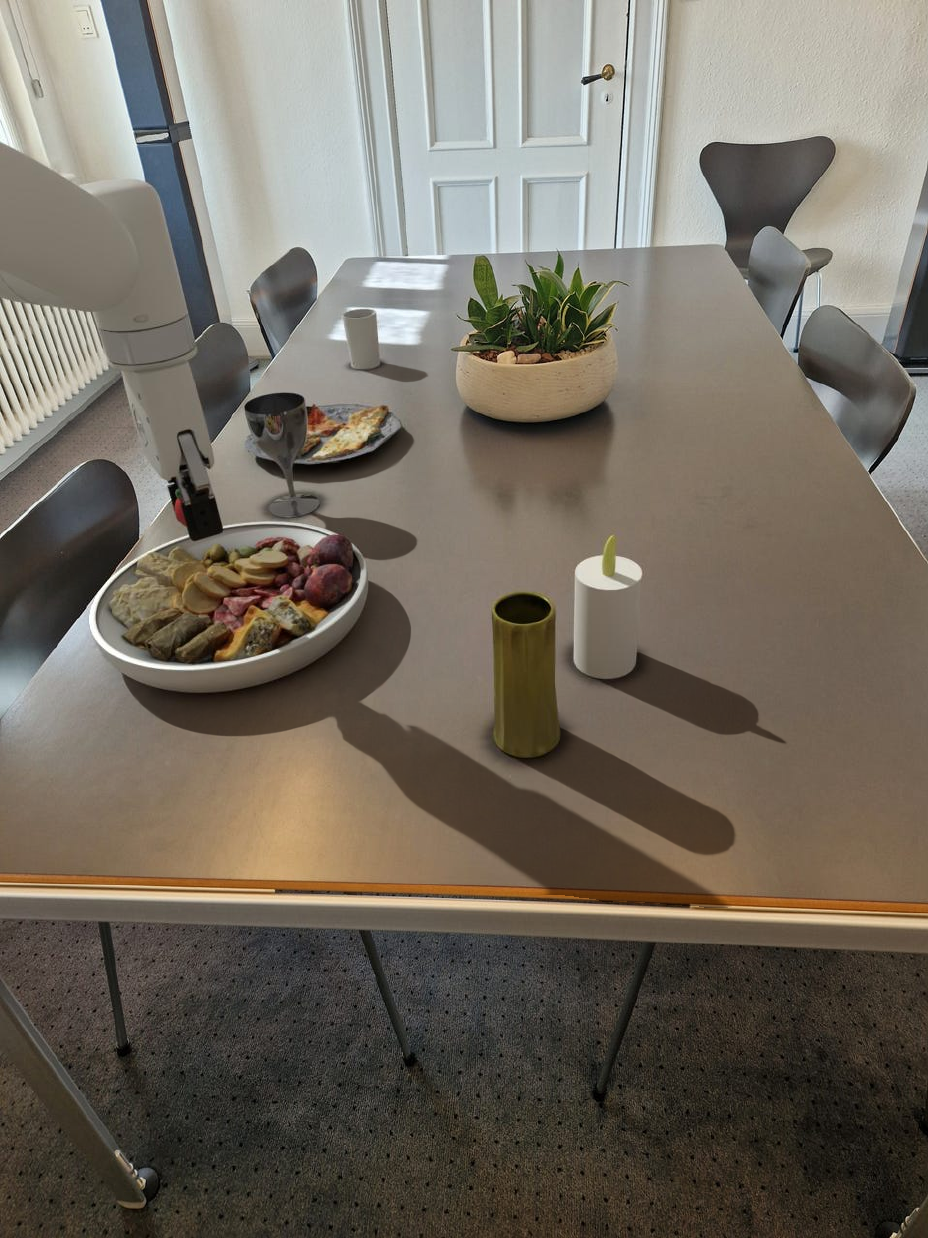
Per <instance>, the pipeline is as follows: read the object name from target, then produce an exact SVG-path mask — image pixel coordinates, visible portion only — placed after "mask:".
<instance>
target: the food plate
mask: <svg viewBox="0 0 928 1238" xmlns="http://www.w3.org/2000/svg"><path fill="white" fill-rule="evenodd" d="M306 409H307V417H308V433H307V440H306V443H305V445H304V447H303V448H302V450H301V451H300V453H299V454H298V456H297V457H296V459H295V461H294V464H304V465H317V464H327V465H328V464H330V463H331V464H336V463H340V462H341V461H343V460H347V459H351V458H354V457H358V456H361V455H365V454H367V453H371V452H374V451H375V450H376V449H378V448H379V447H380V446H382V444H384V443H386V442H387V441H388V440H389V439H390V438H391V437H392V436H393V435H394V434H395V433H397V432H398V431H399V430H400V429H401V428H402V425H403V424H402V422H401V420H400V419H399V418H398V417H397V416H396V415H395V414H394V413H393V412H391V411H389V407H388V406H387V405H383V404H381V405H380V406H379V405H378V406H369V405H364V404H363V405H362V404H358V403H352V404H351V403H350V404H349V403H336V404H329V405H319V406H317V405H316V404H315V403H313V404H312V406H309V405H306ZM243 442H244V443H243V447H244V449H245V450H246V451H247V452H248V453H251V454H253V455H254V456H256V457H258V458H261V459H263V460H264V459H266V460H269V461H271V462H273V461H274V460H273V459H271V458H270V457H269V456H267V455H266V454H264V453H263V452H262V451H261V450H260V449H259V448H258V446H257V445H256V443H255V441H254V439H253V437H252V434H251V433H250V434H249V435H247V436H246V438H245V440H244V441H243Z"/></svg>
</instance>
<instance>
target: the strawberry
mask: <svg viewBox="0 0 928 1238" xmlns="http://www.w3.org/2000/svg"><path fill="white" fill-rule="evenodd" d="M186 487H187V485H186ZM175 494H176V497H177V500H176V503H175V511H174V514H176V515H175V517H177V518H178V520H179V521H180V522H179V521H178V520H177V521H178V522H179V523H180V524H181V525H182V526H184V527H185V528H187V527H186V523H185V519H184V516H183V512H182V509H181V505H180V503H182V502H183V500H182V497H181V494H180V491H179V488H178V489H177V490H176V492H175ZM177 518H176V519H177Z"/></svg>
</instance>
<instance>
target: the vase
mask: <svg viewBox="0 0 928 1238" xmlns="http://www.w3.org/2000/svg"><path fill="white" fill-rule="evenodd" d="M556 612H557V611H556V606H555V604H554V602H553V601H552V599H550V598H549V597H548V596H546V595H544V594H542V593H539V592H536V591H531V590H517V591H512V592H508V593H506V594H504V595H502V596H500V597H498V598H497V599H496V600H495V601H494V602H493V604H492V607H491V626H492V627H491V629H492V648H493V649H492V650H493V655H492V656H493V711H494V712H493V715H494V717H493V718H494V728H493V740H494V743H495V744H496V746H497V747H498V748H499V750H501V751H502V752H504V753H505V754H507V755H510V756H513V757H516V758H523V759H531V758H532V759H533V758H538V757H541V756H544V755H547V754H548V753H549V752H551V751H553V749H555V748H556V746H557V745H558V744H559V742H560V739H561V729H560V721H559V710H558V697H557V689H556V619H557V615H556V614H557V613H556Z"/></svg>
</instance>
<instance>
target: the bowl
mask: <svg viewBox="0 0 928 1238" xmlns="http://www.w3.org/2000/svg"><path fill="white" fill-rule="evenodd" d="M222 526H223V532H222V533H220V534H217V535H214V536H211V537H208V538H204V539H201V540H198V541H192V540H191V539H190V537H189V534H187V535H184V536H180V537H177V538H175V539H173V540H170V541H168V542H165V543H163V544H161V545H158V546H156V547H154V548H152V549H150V550H149V551H146V552H145V553H143V554H141V555H139V556H137V557H136V558H135V559H132V560H131V561H130V562H128V563H127V564H125V565H124V566H123V567H122V568H120V569H119V570H118V571H117V572H115V573H114V574H113V575H112V576H111V577H110V578H109V579H107V581H106V582H105V583H104V584H103V585H102V587H101V588H100V589H99V591H98V592H97V594H96V596H95V598H94V599H93V601H92V603H91V606H90V609H89V615H88V625H89V626H88V627H89V630H90V633H91V636H92V638H93V640H94V643H95V646H96V647H97V648H98V651H99V652H100V653H101V654H102V656H103V657H104V658H105V660H106V661H107V662H108V663H109V664H110V665H111V666H113V668H115V669H116V670H117V671H119V672H120V673H122V674H123V675H125V676H127V677H128V678H130V679H132V680H134V681H136V682H138V683H142V684H144V685H147V686H150V687H153V688H157V689H159V690H166V691H171V692H178V693H179V692H180V693H192V694H195V693H197V694H204V693H206V694H207V693H208V694H209V693H219V692H220V693H221V692H229V691H236V690H241V689H246V688H251V687H255V686H259V685H263V684H265V683H269V682H272V681H274V680H277V679H280V678H283V677H286V676H288V675H290V674H293V673H295V672H297V671H299V670H301V669H304V668H306V667H307V666H309V665H310V664H312V663H313V662H316V661H317V660H318V659H320V658H321V657H323V656H325V655H326V654H327V653H328V652H330V651H331V650H332V649H333V648H335V647H336V646H337V645H338V644H339V643H340V642H341V641H342V640H343V639H344V638H345V637H346V636H347V635H348V634H349V633H350V631H351V630H352V628H353V627H354V626H355V625H356V623H357V621H358V620H359V618H360V616H361V614H362V612H363V610H364V607H365V605H366V601H367V597H368V592H369V575H368V567H367V563H366V560H365V558H364V556H363V554H362V553H361V551H360V550H359V548H357V546H356V545H355V544H354V543H352V540H350V539H349V537H346V536H345V535H342V534H340V533H339V534H338V533H336V532H334V531H331V530H329V529H326V528H324V527H320V526H316V525H311V524H307V523H306V524H305V523H299V522H292V521H291V522H290V521H250V522H241V523H233V524H227V525H222Z"/></svg>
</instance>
